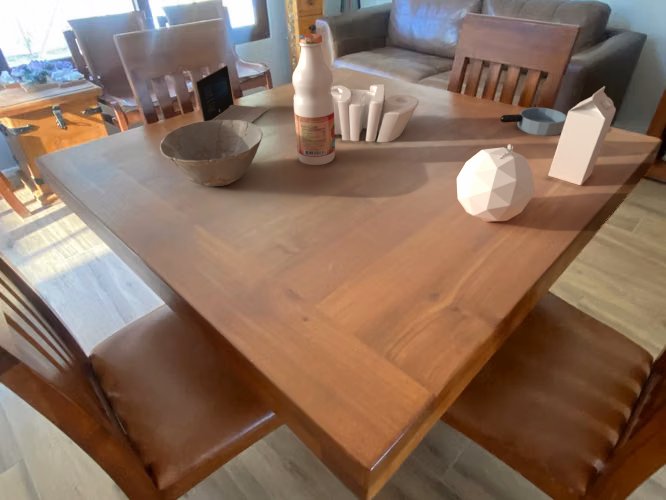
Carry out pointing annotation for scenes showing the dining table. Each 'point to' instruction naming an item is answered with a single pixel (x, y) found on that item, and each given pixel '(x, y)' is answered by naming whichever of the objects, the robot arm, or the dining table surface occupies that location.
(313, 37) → the fruit juice
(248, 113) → the laptop
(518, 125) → the pan
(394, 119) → the wavy white extrusion
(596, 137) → the milk carton
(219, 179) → the ceramic bowl
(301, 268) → the dining table surface
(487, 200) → the geodesic sphere
